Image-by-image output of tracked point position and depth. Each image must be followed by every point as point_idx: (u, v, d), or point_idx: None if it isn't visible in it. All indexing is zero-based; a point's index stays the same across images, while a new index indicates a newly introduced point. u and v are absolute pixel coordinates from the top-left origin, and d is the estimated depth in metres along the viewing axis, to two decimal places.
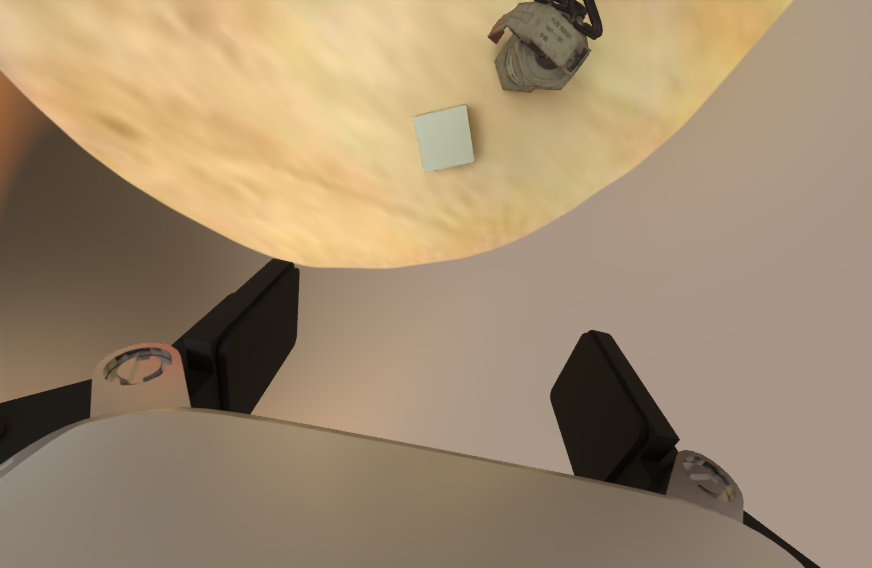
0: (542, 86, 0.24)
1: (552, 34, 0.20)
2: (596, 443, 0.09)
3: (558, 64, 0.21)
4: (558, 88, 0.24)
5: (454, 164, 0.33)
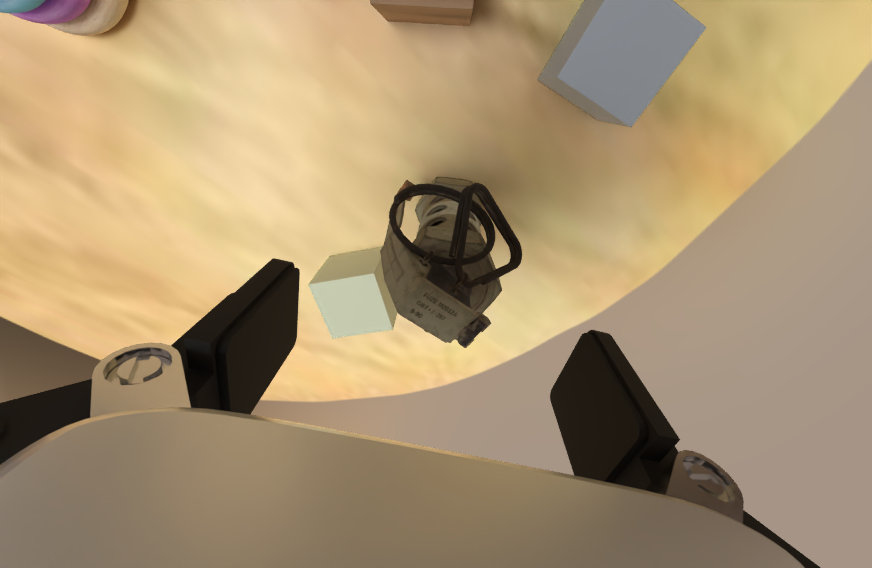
0: None
1: (427, 310, 0.13)
2: (596, 443, 0.09)
3: (443, 340, 0.14)
4: None
5: (368, 331, 0.27)
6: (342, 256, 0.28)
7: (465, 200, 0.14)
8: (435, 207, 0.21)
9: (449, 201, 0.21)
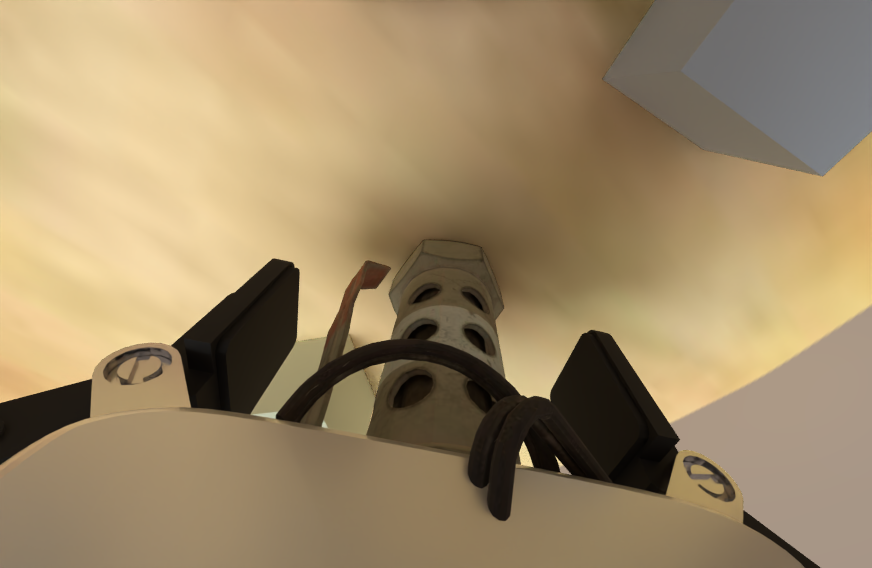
0: None
1: None
2: (596, 443, 0.09)
3: None
4: None
5: None
6: None
7: (491, 487, 0.04)
8: (416, 319, 0.11)
9: (444, 306, 0.11)
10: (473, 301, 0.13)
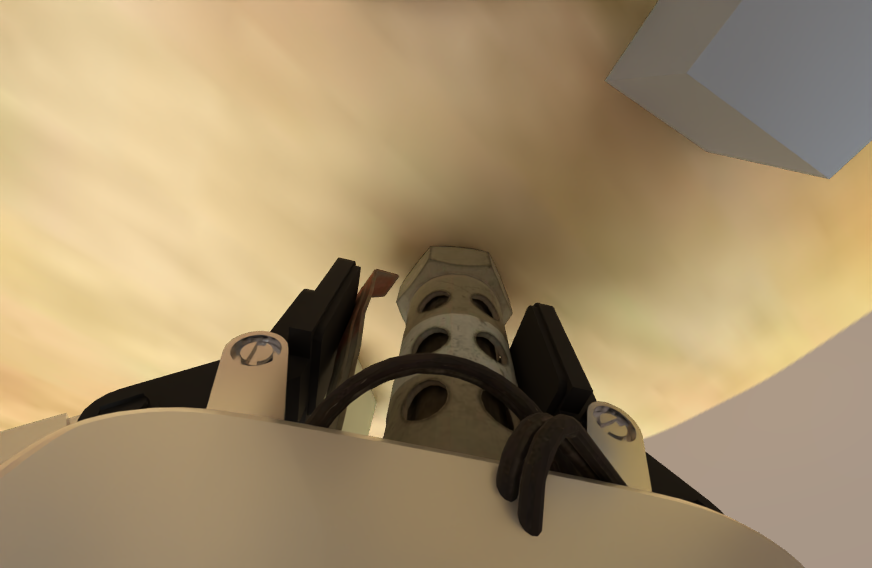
0: None
1: None
2: None
3: None
4: None
5: None
6: None
7: (520, 511, 0.04)
8: (427, 328, 0.11)
9: (454, 315, 0.11)
10: (482, 307, 0.13)
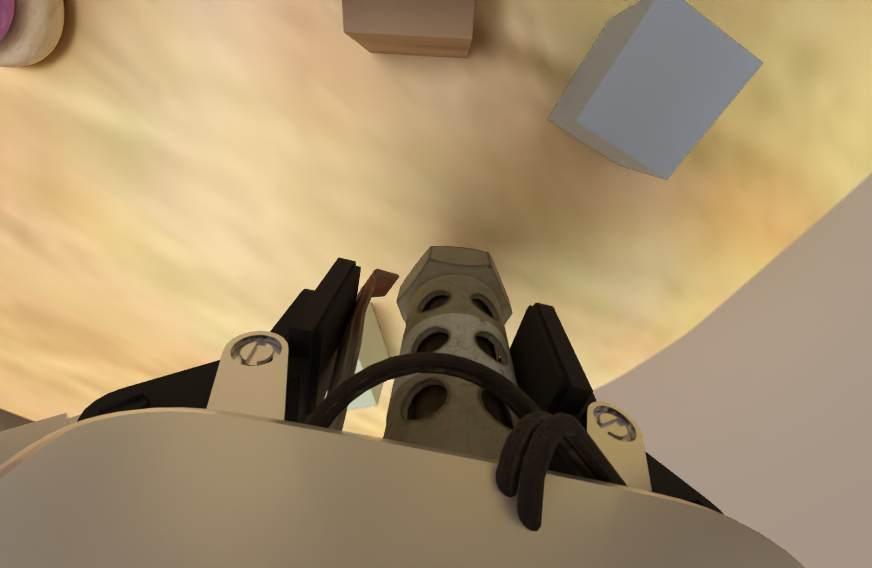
0: None
1: None
2: None
3: None
4: None
5: (347, 408, 0.22)
6: None
7: (519, 508, 0.04)
8: (427, 328, 0.11)
9: (454, 314, 0.11)
10: (482, 307, 0.13)
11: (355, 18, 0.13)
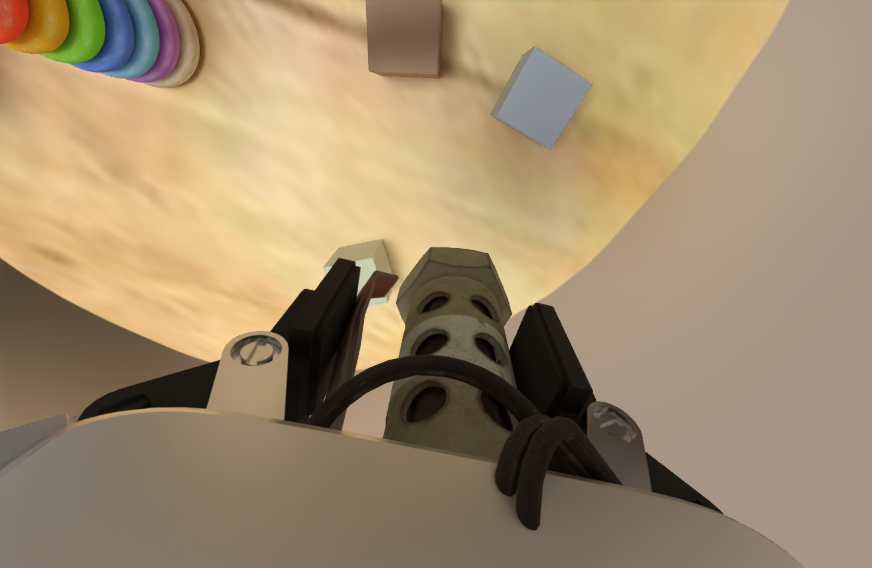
0: None
1: None
2: None
3: None
4: None
5: None
6: (348, 248, 0.36)
7: (518, 513, 0.04)
8: (426, 330, 0.11)
9: (453, 316, 0.11)
10: (482, 308, 0.13)
11: (375, 64, 0.25)
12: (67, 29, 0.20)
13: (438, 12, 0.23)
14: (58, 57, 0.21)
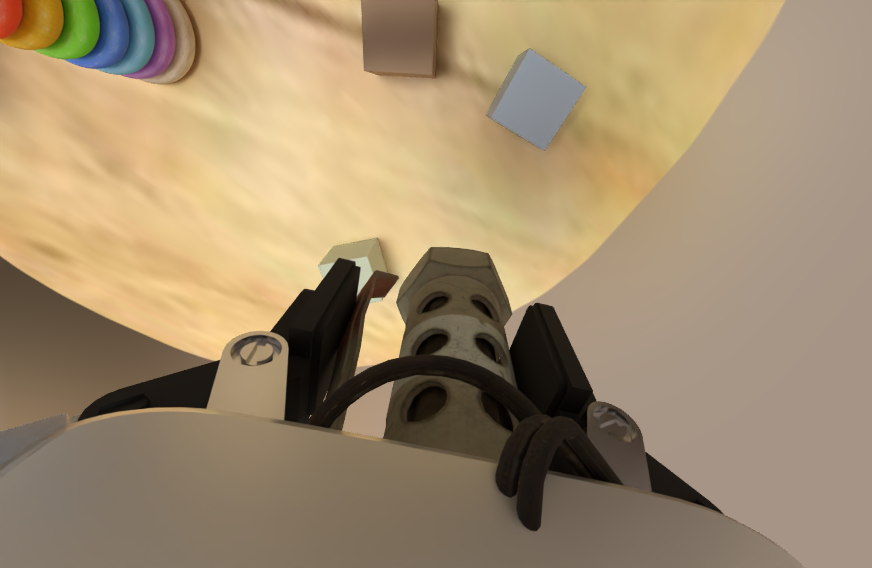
0: None
1: None
2: None
3: None
4: None
5: None
6: (343, 246, 0.36)
7: (519, 512, 0.04)
8: (427, 329, 0.11)
9: (454, 316, 0.11)
10: (482, 308, 0.13)
11: (370, 63, 0.25)
12: (61, 25, 0.20)
13: (433, 13, 0.23)
14: (52, 53, 0.21)
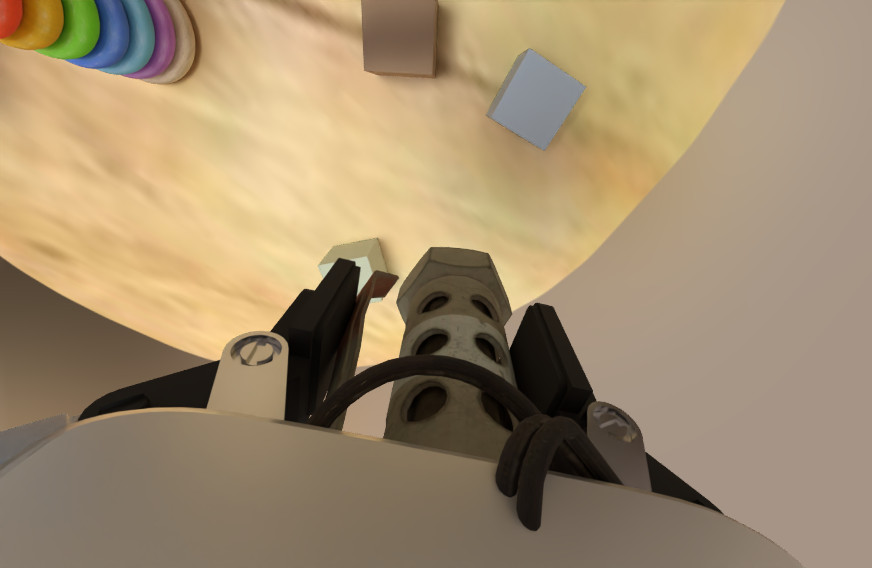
0: None
1: None
2: None
3: None
4: None
5: None
6: (343, 246, 0.36)
7: (519, 512, 0.04)
8: (427, 329, 0.11)
9: (454, 316, 0.11)
10: (482, 308, 0.13)
11: (370, 63, 0.25)
12: (61, 25, 0.20)
13: (433, 13, 0.23)
14: (52, 53, 0.21)
